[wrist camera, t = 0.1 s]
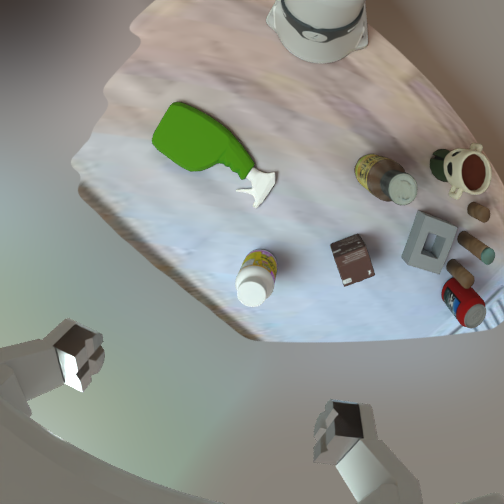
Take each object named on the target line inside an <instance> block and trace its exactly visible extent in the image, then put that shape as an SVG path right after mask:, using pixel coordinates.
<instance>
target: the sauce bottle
mask: <svg viewBox="0 0 504 504" xmlns="http://www.w3.org/2000/svg"><path fill="white" fill-rule="evenodd" d="M354 170H355V175H356V178H357V180H358V182H359V183H360V184H361V185H362V186H363V187H365V188H366V189H367V190H368V191H369V192H370V193H372V194H373V195H374V196H376V197H377V198H379V199H380V200H383V201H388V202H389V201H393V202H394V203H396V204H398V205H407V204H409V203H411V202H412V201H413V200H414V199H415V197H416V195H417V190H418V189H417V183H416V181H415V179H414V178H413V177H412V176H411V175H409V174H408V173H406V172H405V170H404V169H403V167H402V166H401V165H400V164H398V163H397V162H395V161H393V160H391V159H388V158H385V157H382V156H378V155H374V154H369V155H365V156H363V157H361V158H360V159H359V160H358V161H357V163H356V166H355V169H354Z"/></svg>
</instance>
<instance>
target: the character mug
mask: <svg viewBox="0 0 504 504" xmlns="http://www.w3.org/2000/svg"><path fill="white" fill-rule="evenodd" d="M475 149H476V151H474V150H475ZM482 149H483V146H482V145H481V144H478V143H472V144H471V146H470V148H469V149H462V148H458V149H454V150H452V151H449V150H446V149H440V150H437V151H436V152H434V153H433V155H436V157H435V159H430V168H431V171H432V174H433V175H434V176H435V177H436V178H437V179H438V180H441V181H443V182H449V183H450V184H451V185H452V187H451V189H450V191H449V196H450V197H452V198H454V199H457V200H458V199H459V198H460V197H461V195H462V193H463V191H464V192H467V193H469V194H472V195H479V194H481V193H483V192H485V191H486V189H487V188H488V187H489V185H490V182H491V178H492V172H491V166H490V163H489V160H488V159H487V158H486V156H485V155H484V154H482V153H481V151H482ZM456 189H458V190H457V192H456V193H455V191H456Z"/></svg>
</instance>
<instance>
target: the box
mask: <svg viewBox="0 0 504 504" xmlns="http://www.w3.org/2000/svg"><path fill="white" fill-rule="evenodd" d="M330 246H331V249H332V252H333V256H334V259H335V262H336V265H337V268H338V271H339V273H340V276H341V279H342V282H343V285H344V287H345V286H348V285H351V284H353V283H356V282H360V281H362V280H364V279H367V278H369V277H372V276H374V275H375V273H374V269H373V266H372V263H371V260H370V257H369V254H368V251H367V248H366V246H365V244H364V242H363V241H362V239H361V237H360V235H359V234H356V235H353V236H350V237H347V238H345V239H342V240H340V241H337V242H335V243H332V244H331V245H330Z"/></svg>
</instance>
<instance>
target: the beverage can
mask: <svg viewBox="0 0 504 504" xmlns="http://www.w3.org/2000/svg"><path fill="white" fill-rule="evenodd" d="M441 295H442V299H443V301H444V302H445V304H446V305H447V307H448V308H449V309H450V311H451V312H452V313H453V315H454V316H455V317H456V319H457V320H458V321H459V323H460V324H461V325H462V326H464V327H468V328H475V327H477V326H478V325H480V324H481V323H482V321H483V320H484V318H485V316H486V308H485V302H484V300H483V299H482V298H481V297H480V296H479V295H478V294H477V293H476V292H475V291H474V290H473V289H472V288H471V287H470V288H468V289H465V288H464V287H463V286H462V285H461V284H460V283H459V282H458V281H457V280H456V279H455V278H451V279H450V280H448V281H447V282H446V284H445V285H444V287H443V289H442V294H441Z"/></svg>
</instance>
